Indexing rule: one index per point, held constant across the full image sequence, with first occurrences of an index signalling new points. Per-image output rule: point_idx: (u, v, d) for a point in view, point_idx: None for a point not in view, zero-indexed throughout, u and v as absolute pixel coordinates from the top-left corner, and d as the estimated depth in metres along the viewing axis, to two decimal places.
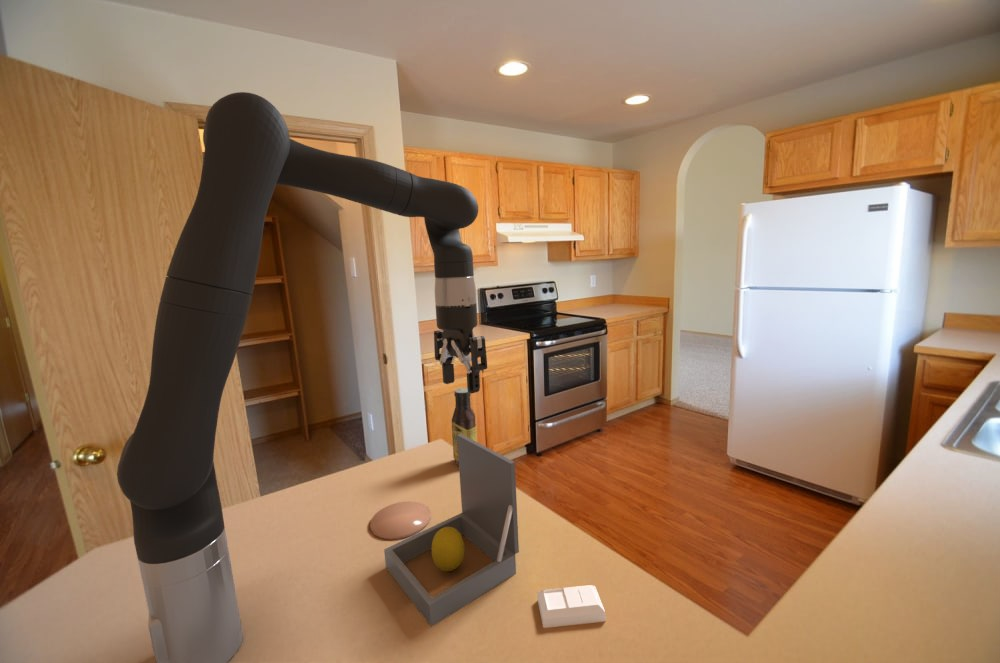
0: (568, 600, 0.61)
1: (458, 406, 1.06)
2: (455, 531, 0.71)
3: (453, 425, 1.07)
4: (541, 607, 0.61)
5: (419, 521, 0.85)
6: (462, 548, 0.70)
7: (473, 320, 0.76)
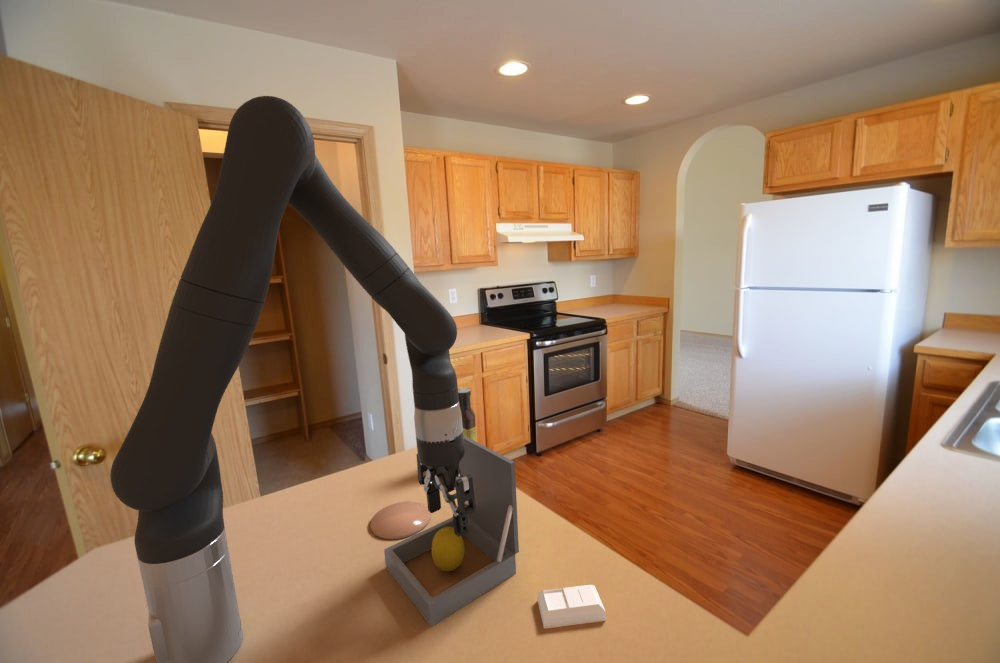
0: (569, 600, 0.61)
1: None
2: None
3: None
4: (541, 608, 0.61)
5: (419, 521, 0.85)
6: (462, 548, 0.70)
7: (459, 453, 0.66)
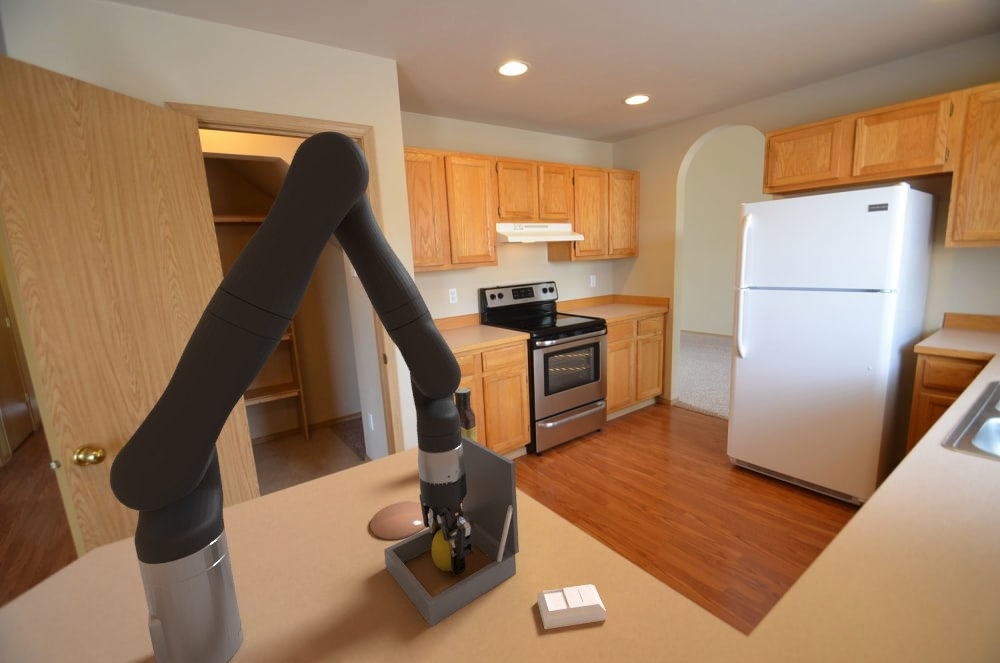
0: (569, 600, 0.61)
1: (458, 406, 1.06)
2: (455, 531, 0.71)
3: None
4: (542, 608, 0.61)
5: (419, 521, 0.85)
6: None
7: (461, 494, 0.67)
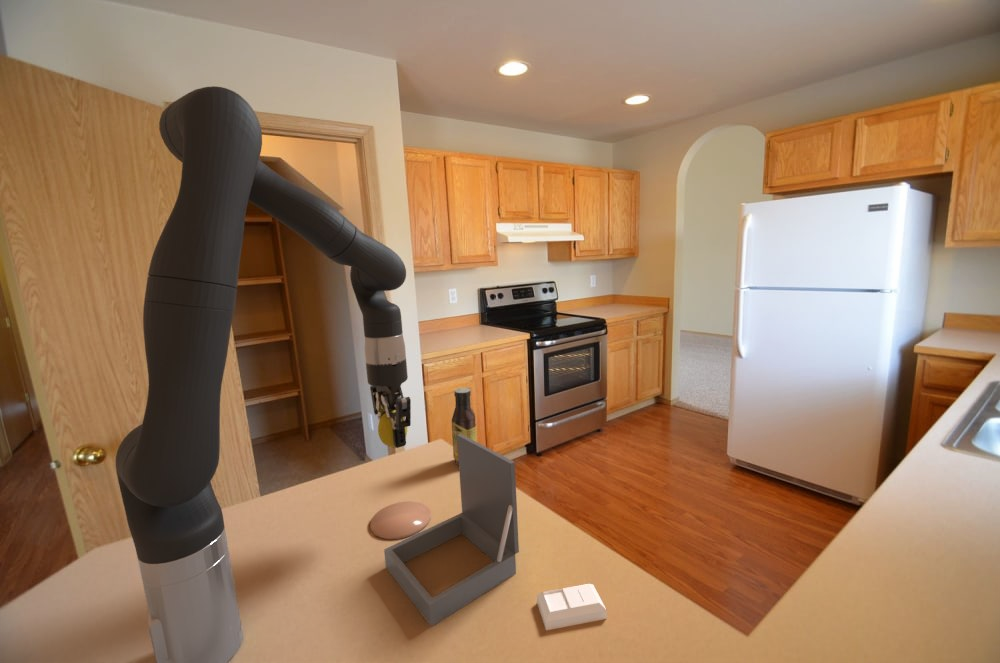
0: (569, 600, 0.61)
1: (458, 406, 1.06)
2: None
3: (453, 425, 1.07)
4: (542, 609, 0.61)
5: (419, 521, 0.85)
6: None
7: (401, 376, 0.80)
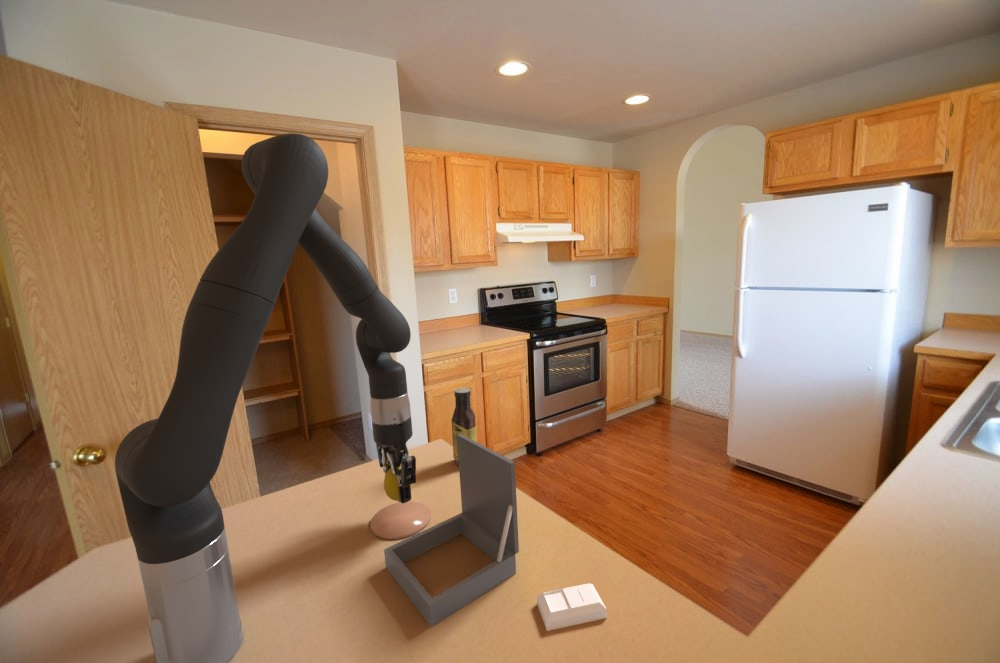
0: (570, 600, 0.61)
1: (458, 406, 1.06)
2: None
3: (453, 425, 1.07)
4: (543, 610, 0.61)
5: (419, 521, 0.85)
6: None
7: (406, 434, 0.81)
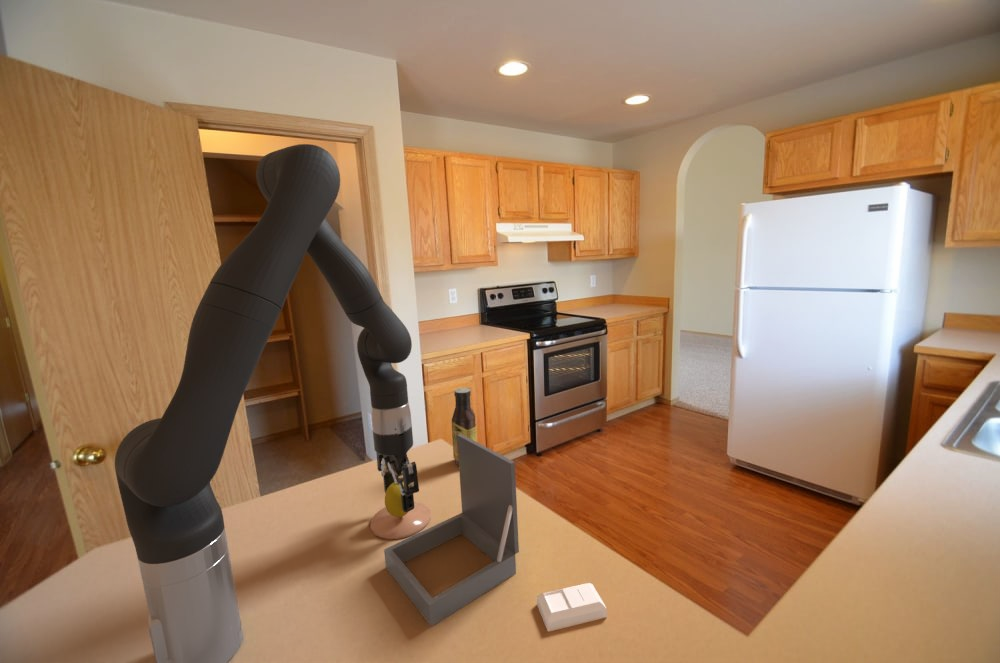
0: (570, 600, 0.61)
1: (458, 406, 1.06)
2: None
3: (453, 425, 1.07)
4: (543, 611, 0.61)
5: (419, 521, 0.85)
6: None
7: (407, 444, 0.82)
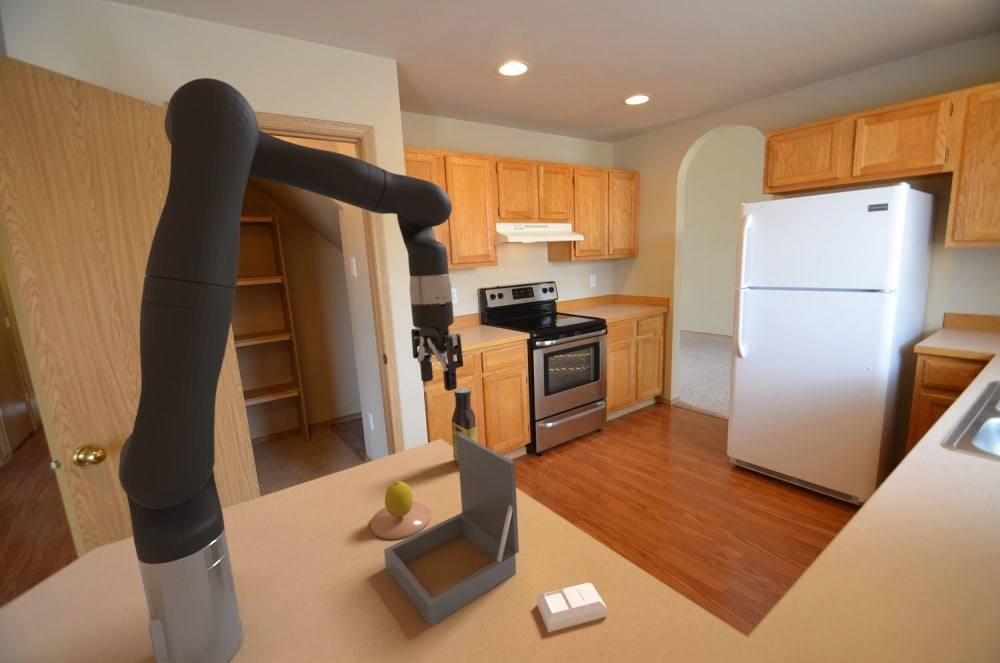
0: (570, 600, 0.61)
1: (458, 406, 1.06)
2: (404, 484, 0.85)
3: (453, 425, 1.07)
4: (544, 611, 0.61)
5: (419, 521, 0.85)
6: (410, 498, 0.85)
7: (449, 318, 0.76)
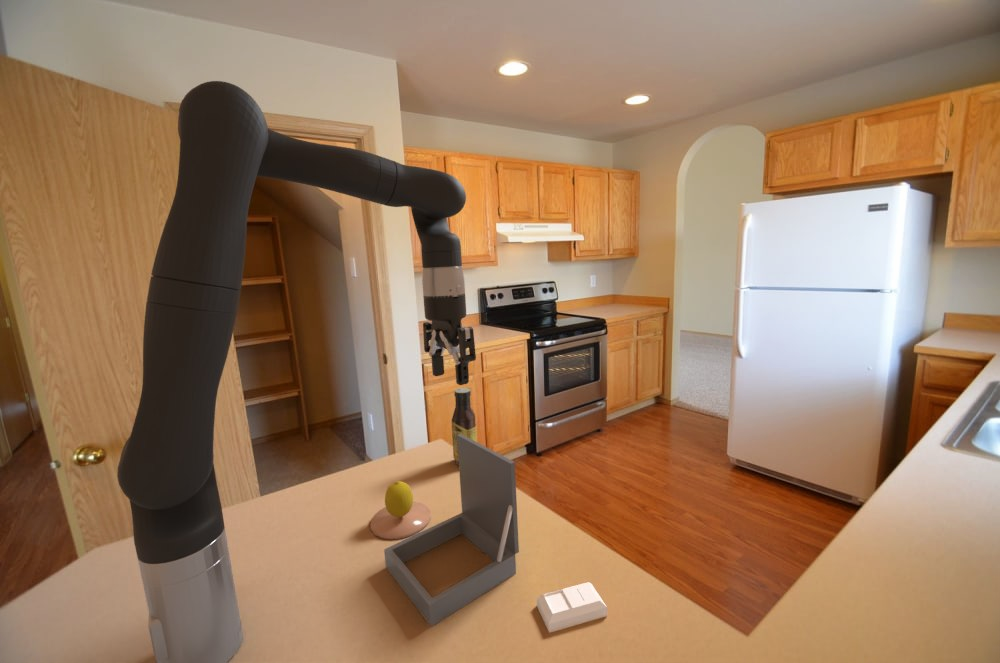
0: (570, 600, 0.61)
1: (458, 406, 1.06)
2: (404, 484, 0.86)
3: (453, 425, 1.07)
4: (544, 612, 0.60)
5: (419, 521, 0.85)
6: (410, 498, 0.85)
7: (461, 311, 0.75)
